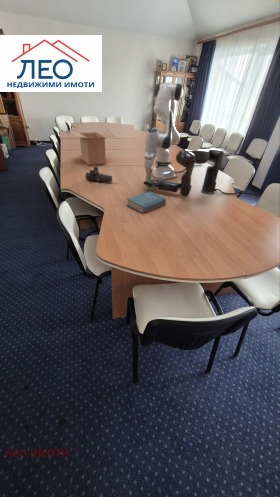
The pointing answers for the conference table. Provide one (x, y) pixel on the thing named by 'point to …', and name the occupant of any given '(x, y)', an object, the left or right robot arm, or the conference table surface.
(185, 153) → the right robot arm
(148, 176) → the jar
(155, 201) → the book
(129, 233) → the conference table surface
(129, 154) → the conference table surface
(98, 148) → the box
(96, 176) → the laser sight
